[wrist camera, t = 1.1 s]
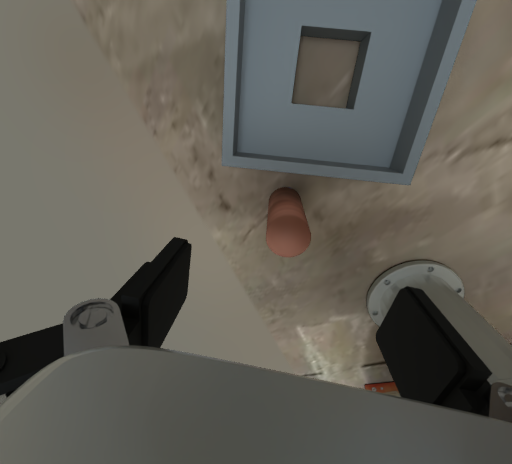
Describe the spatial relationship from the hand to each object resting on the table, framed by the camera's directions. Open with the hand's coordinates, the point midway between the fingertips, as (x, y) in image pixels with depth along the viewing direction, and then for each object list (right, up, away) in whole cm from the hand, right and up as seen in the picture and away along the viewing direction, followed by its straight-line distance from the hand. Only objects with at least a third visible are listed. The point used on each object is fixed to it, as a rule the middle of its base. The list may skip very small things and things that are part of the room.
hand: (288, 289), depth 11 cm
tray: (+5, +19, +14) cm, 24 cm away
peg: (+2, +6, +20) cm, 21 cm away
